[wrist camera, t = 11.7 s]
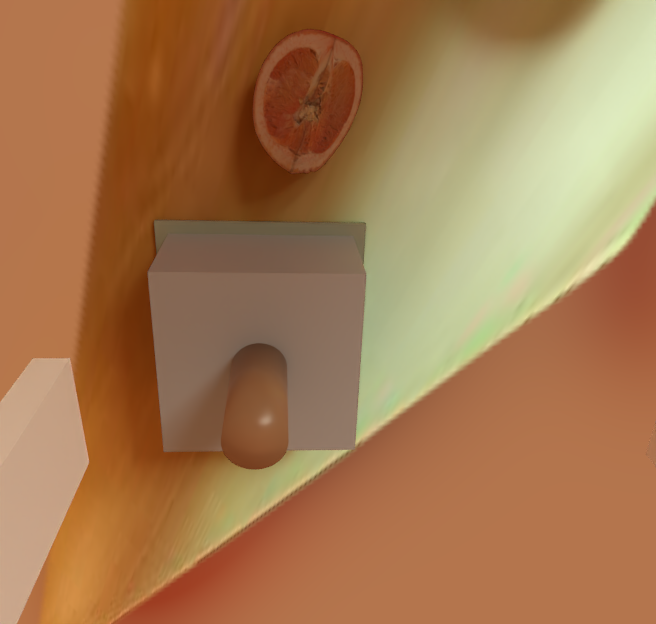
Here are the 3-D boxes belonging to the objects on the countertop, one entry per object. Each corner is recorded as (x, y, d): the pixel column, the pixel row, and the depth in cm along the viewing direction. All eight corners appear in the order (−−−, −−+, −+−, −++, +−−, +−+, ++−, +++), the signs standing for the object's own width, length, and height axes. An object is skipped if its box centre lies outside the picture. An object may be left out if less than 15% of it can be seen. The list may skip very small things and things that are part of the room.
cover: (353, 236, 45) (386, 331, 31) (344, 391, 51) (369, 533, 37) (168, 233, 44) (115, 331, 30) (179, 392, 50) (139, 538, 36)
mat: (365, 222, 45) (365, 224, 45) (354, 398, 52) (354, 401, 51) (154, 219, 44) (153, 221, 44) (169, 400, 50) (168, 402, 50)
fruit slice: (330, 174, 44) (336, 190, 39) (238, 140, 42) (233, 154, 38) (375, 53, 41) (387, 56, 36) (277, 13, 39) (277, 11, 35)
